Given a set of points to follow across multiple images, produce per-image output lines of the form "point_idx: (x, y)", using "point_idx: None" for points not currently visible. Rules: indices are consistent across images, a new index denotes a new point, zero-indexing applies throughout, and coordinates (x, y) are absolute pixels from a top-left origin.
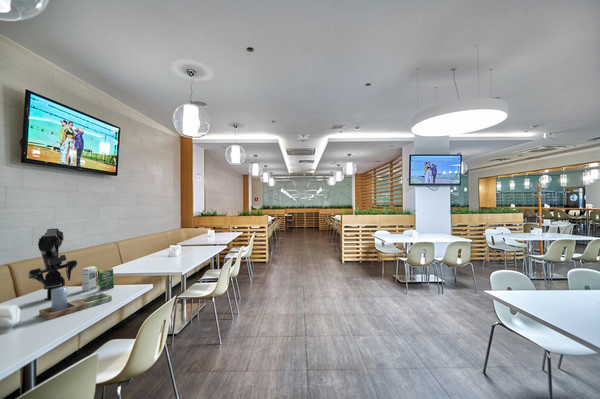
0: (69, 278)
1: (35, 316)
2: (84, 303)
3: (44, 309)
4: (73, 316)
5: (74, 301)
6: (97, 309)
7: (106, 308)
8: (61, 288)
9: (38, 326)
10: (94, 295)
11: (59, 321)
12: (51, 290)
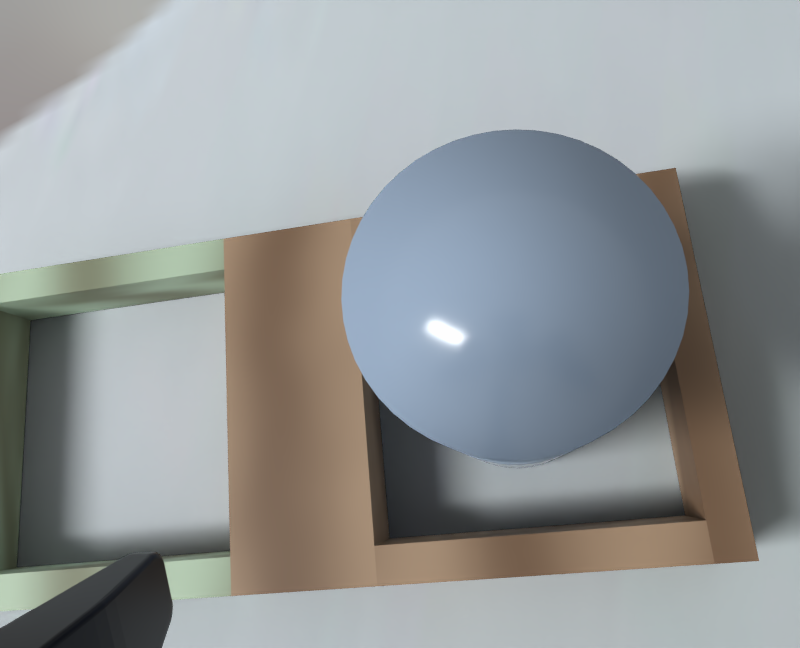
0: (103, 578)
1: (777, 524)
2: (253, 265)
3: (687, 523)
4: (435, 85)
5: (303, 513)
6: (215, 106)
7: (155, 60)
8: (464, 241)
9: (757, 61)
10: (39, 572)
11: (568, 42)
12: (684, 257)
